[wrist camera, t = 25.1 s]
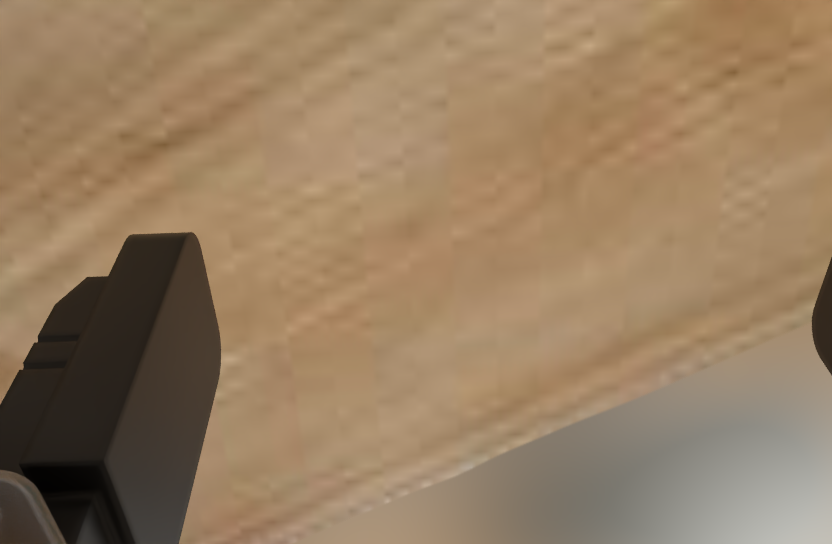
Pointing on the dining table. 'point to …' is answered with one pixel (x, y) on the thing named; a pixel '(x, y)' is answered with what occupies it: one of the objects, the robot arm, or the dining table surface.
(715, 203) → the dining table surface
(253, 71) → the dining table surface
